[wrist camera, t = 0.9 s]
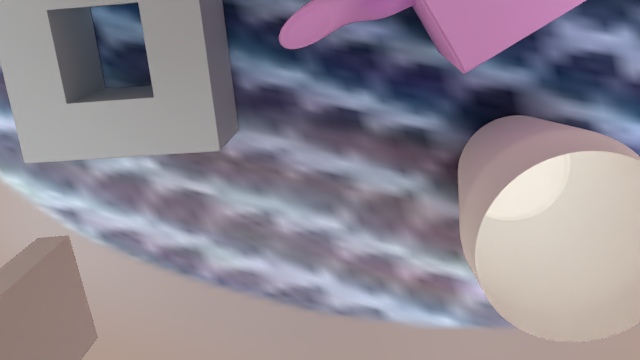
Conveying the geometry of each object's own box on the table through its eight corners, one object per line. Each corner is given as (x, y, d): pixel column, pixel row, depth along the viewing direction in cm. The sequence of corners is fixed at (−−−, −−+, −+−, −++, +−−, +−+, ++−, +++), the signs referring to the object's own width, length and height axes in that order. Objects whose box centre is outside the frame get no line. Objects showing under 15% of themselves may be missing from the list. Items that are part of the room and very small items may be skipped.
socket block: (27, -45, 34) (-27, -50, 30) (214, -63, 33) (189, -71, 29) (67, 141, 38) (24, 163, 33) (238, 129, 37) (219, 150, 32)
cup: (436, 238, 38) (467, 346, 26) (438, 97, 35) (473, 149, 24) (583, 236, 37) (680, 345, 26) (596, 91, 34) (711, 142, 23)
